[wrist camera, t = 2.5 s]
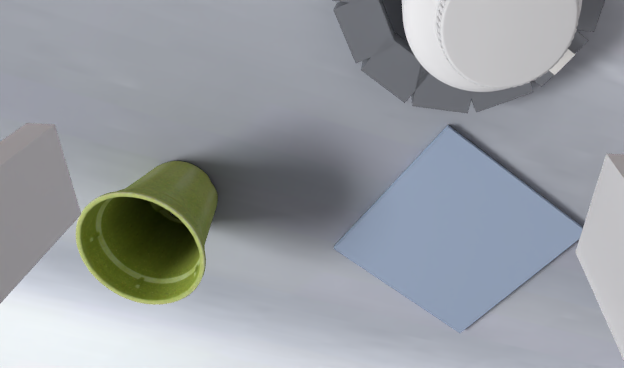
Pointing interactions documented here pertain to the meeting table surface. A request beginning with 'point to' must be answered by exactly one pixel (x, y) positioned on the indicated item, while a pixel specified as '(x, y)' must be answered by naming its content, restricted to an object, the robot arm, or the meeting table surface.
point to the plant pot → (150, 234)
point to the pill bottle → (489, 39)
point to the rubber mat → (457, 232)
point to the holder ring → (412, 75)
